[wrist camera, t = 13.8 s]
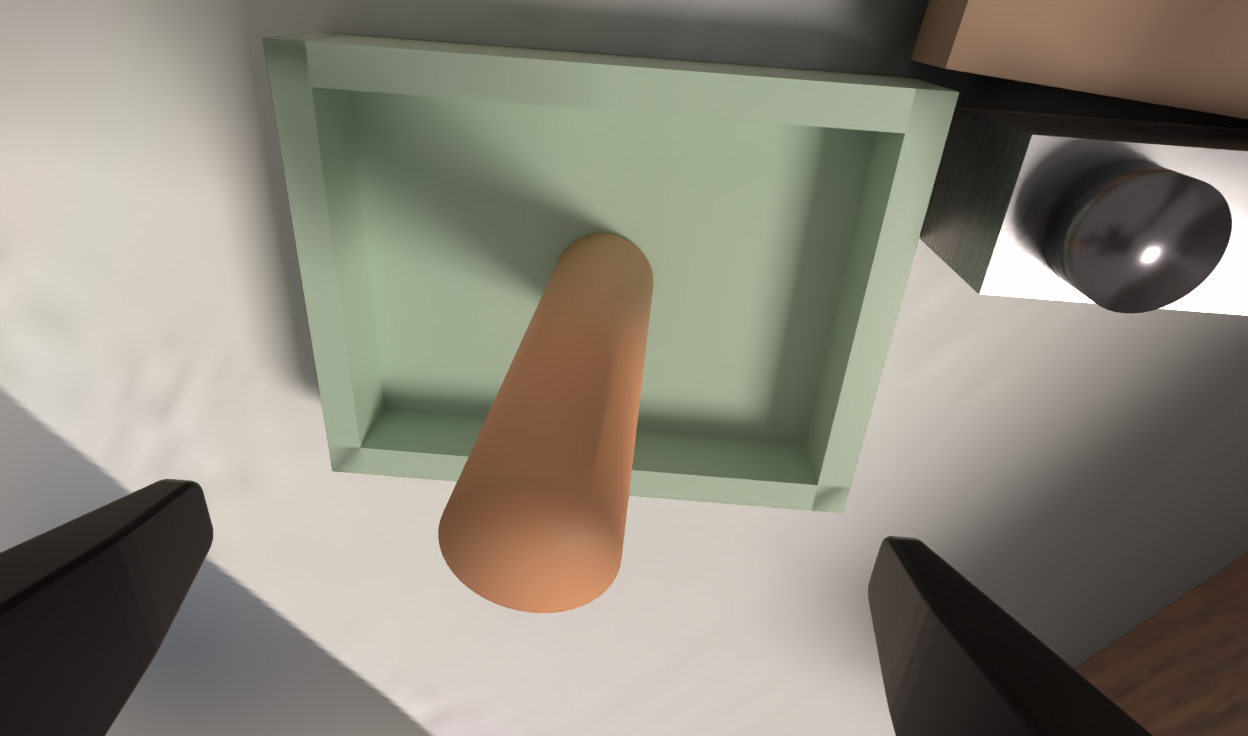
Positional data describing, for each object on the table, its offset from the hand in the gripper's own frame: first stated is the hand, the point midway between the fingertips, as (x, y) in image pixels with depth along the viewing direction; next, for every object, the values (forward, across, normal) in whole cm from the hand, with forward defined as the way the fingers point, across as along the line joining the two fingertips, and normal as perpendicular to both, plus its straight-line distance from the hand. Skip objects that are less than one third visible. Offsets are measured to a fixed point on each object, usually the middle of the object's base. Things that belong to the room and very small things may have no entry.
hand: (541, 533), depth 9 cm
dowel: (+9, 0, 0) cm, 9 cm away
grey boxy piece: (+9, -12, -3) cm, 16 cm away
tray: (+9, 0, 0) cm, 9 cm away
